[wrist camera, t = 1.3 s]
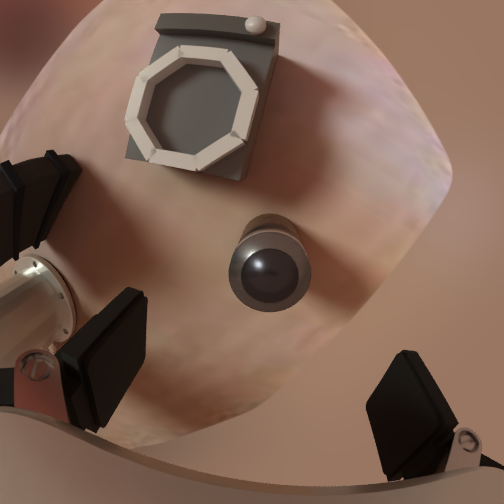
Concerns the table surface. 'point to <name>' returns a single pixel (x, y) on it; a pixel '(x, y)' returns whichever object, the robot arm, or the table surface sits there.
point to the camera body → (203, 93)
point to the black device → (32, 200)
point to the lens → (269, 265)
